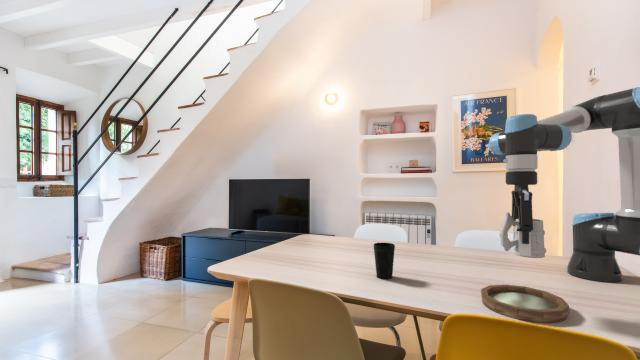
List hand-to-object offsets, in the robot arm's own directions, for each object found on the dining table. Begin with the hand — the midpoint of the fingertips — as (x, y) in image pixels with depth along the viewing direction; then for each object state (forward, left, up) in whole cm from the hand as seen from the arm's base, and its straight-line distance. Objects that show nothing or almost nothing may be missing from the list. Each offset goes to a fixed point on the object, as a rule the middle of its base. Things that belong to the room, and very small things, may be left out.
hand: (521, 252), depth 88 cm
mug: (0, +1, -1) cm, 1 cm away
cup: (+41, -13, -15) cm, 46 cm away
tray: (0, 0, -15) cm, 15 cm away
